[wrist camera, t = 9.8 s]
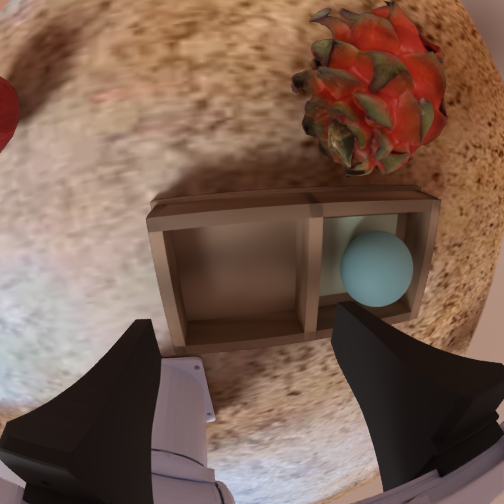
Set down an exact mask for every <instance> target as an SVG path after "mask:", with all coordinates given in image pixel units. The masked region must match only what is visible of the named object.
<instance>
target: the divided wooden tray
mask: <svg viewBox="0 0 504 504" xmlns="http://www.w3.org/2000/svg"><path fill="white" fill-rule="evenodd" d="M440 204H441V199H438V198H436V197H434V196H431V195H429V194H427V193H424V192H422V191H421V187H419V186H415V185H361V186H323V187H299V188H280V189H264V190H250V191H237V192H225V193H214V194H204V195H194V196H184V197H175V198H167V199H158V200H152V201H151V202H150V205H151V212H150V213H149V214H148V216H147V217H146V223H147V229H148V235H149V241H150V246H151V251H152V256H153V262H154V266H155V271H156V276H157V281H158V285H159V290H160V294H161V299H162V303H163V307H164V311H165V315H166V319H167V323H168V327H169V331H170V335H171V339H172V342H173V346H174V350H175V353H176V355H188V354H202V353H215V352H226V351H236V350H245V349H254V348H262V347H270V346H278V345H285V344H292V343H299V342H305V341H311V340H317V339H323V338H329V337H332V332H333V325H334V319H335V312H336V305H337V302H344V301H352V302H354V303H356V304H358V305H359V306H361V307H363V308H364V309H366V310H367V311H369V312H370V313H372V314H373V315H375V316H377V317H378V318H380V319H381V320H383V321H385V322H386V323H388V324H389V325H392V324H396V323H400V322H404V321H408V320H412V319H416V318H417V316H418V313H419V309H420V305H421V302H422V298H423V294H424V290H425V286H426V282H427V278H428V273H429V269H430V264H431V259H432V254H433V249H434V244H435V238H436V232H437V226H438V219H439V212H440ZM369 231H385V232H389V233H391V234H393V235H395V236H397V237H398V238H399V239H400V240H402V242H403V243H404V244H405V245H406V246H407V248H408V250H409V252H410V254H411V257H412V261H413V276H412V280H411V283H410V285H409V287H408V289H407V290H406V292H405V293H404V294H403V295H402V296H401V297H400V298H399V299H398V300H397V301H395V302H393V303H391V304H389V305H386V306H382V307H371V306H366V305H364V304H361V303H359V302H358V301H356V300H355V299H353V298H352V297H351V296H350V295H349V293H348V292H347V291H346V289H345V287H344V285H343V283H342V280H341V275H340V264H341V259H342V256H343V253H344V251H345V249H346V248H347V246H348V245H349V243H350V242H351V241H352V240H354V239H355V238H356V237H358V236H359V235H361V234H363V233H366V232H369Z"/></svg>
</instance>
